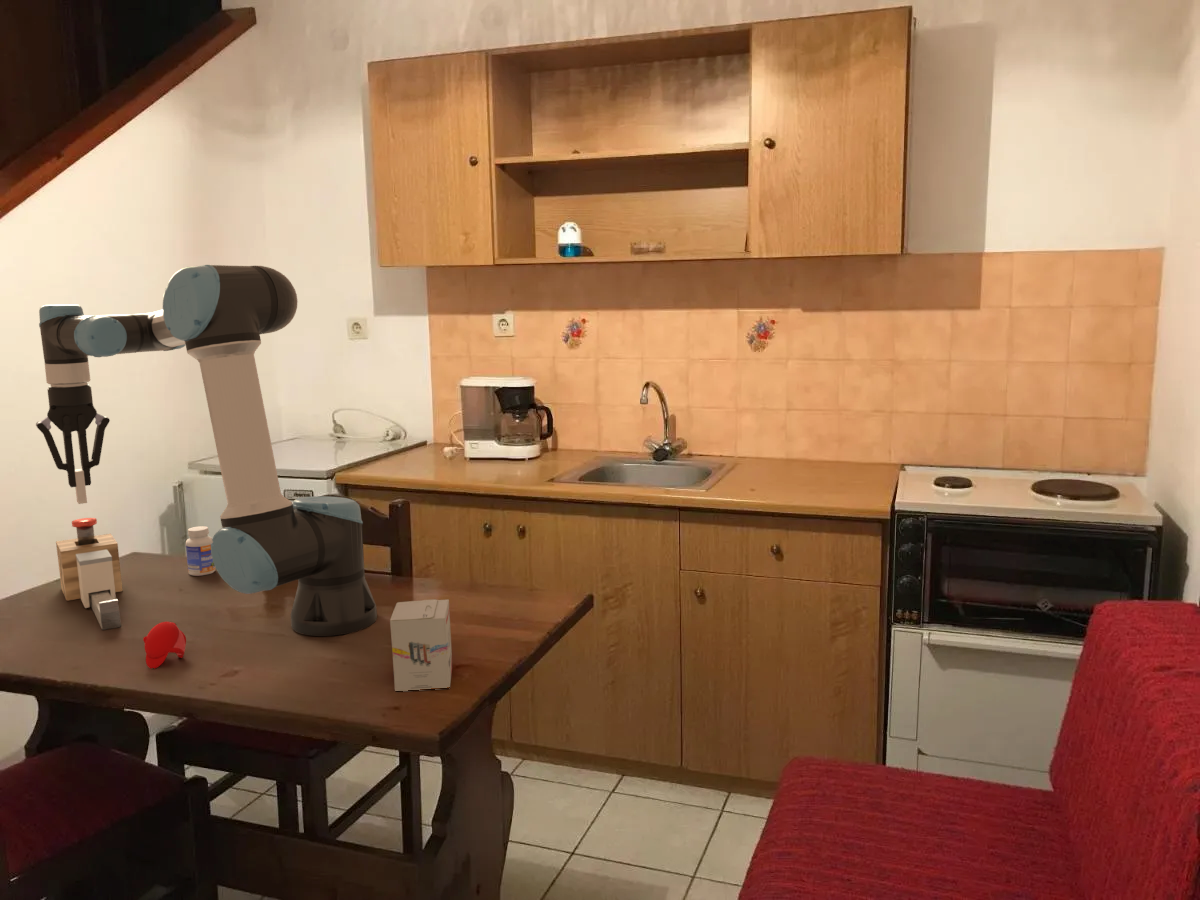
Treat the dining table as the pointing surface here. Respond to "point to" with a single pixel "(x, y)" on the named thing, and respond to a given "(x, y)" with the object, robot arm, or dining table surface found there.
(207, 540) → the pill bottle
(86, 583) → the block
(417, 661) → the ink box
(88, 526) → the red push button
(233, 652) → the dining table surface
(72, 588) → the wooden red button box
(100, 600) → the rail
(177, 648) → the cap
